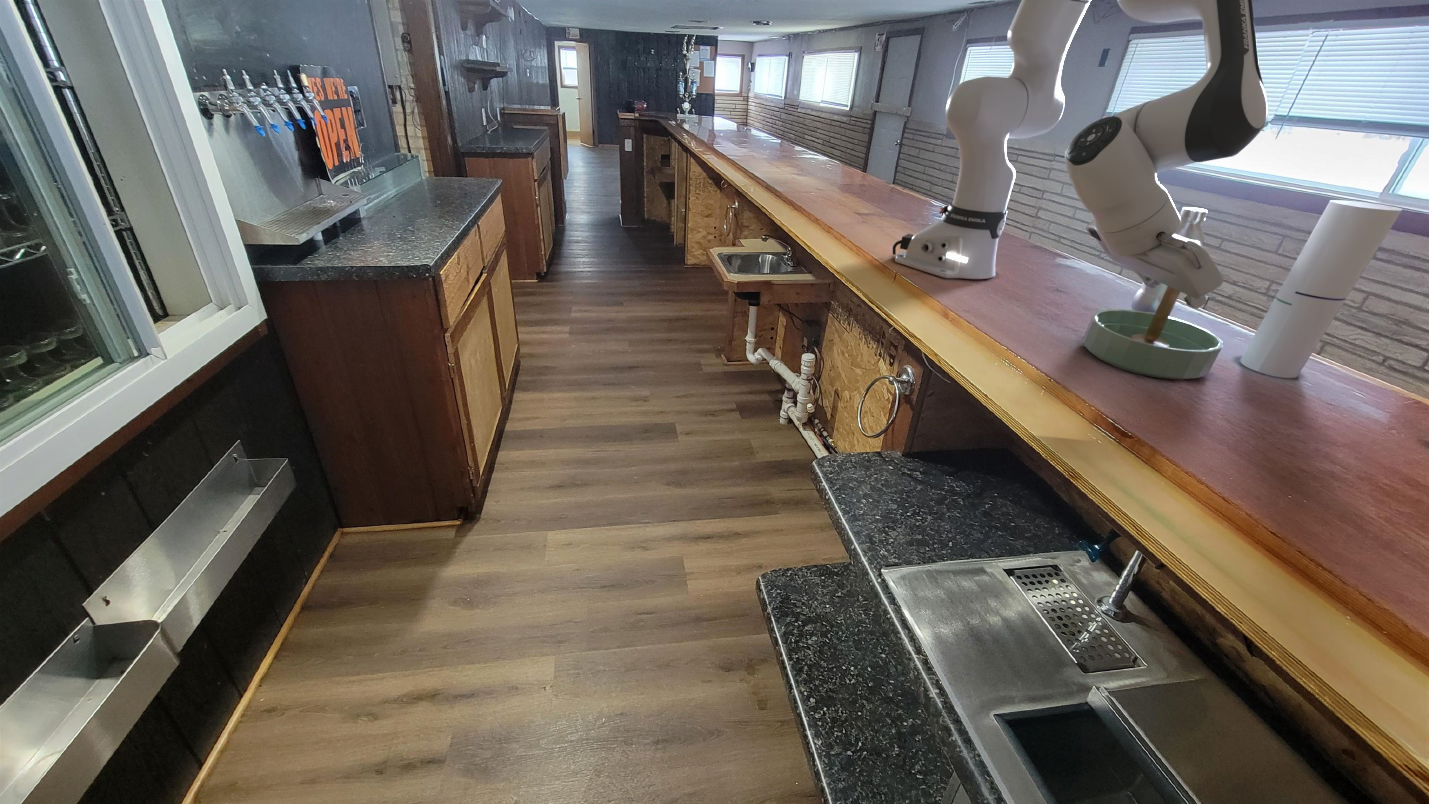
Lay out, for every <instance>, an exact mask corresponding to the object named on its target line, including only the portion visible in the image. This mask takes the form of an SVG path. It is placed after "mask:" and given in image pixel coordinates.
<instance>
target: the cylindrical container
mask: <svg viewBox="0 0 1429 804" xmlns="http://www.w3.org/2000/svg"><path fill="white" fill-rule="evenodd" d="M1402 212H1403V208H1400V207H1397V206H1393V205H1387V204H1382V203H1381V204H1380V203H1375V202H1374V203H1373V202H1366V201H1356V200H1345V199H1330V200H1329V202H1328V203H1327V205H1326V207H1325V209H1324V210H1323V212H1322V214H1321V216H1320V218H1319V219H1318V221H1317V223H1316V225H1315V227H1314V228H1313V230H1312V232H1311V233H1310V236H1309V237H1308V239H1307V240H1306V243H1305V244H1304V246H1303V248H1302V249H1301V251H1300V253H1299V255H1298V256H1297V259H1296V260H1295V262H1294V263H1293V265H1292V267H1291V269H1290V270H1289V272H1288V274H1287V276H1286V278H1285V280H1284V282H1283V283H1282V285H1281V287H1280V288H1279V290H1278V292H1277V293H1276V296H1275V298H1274V299H1273V301H1272V303H1271V304H1270V306H1269V308H1268V310H1267V311H1266V313H1265V315H1264V317H1263V318H1262V321H1261V322H1260V324H1259V326H1258V327H1257V329H1256V331H1255V333H1254V335H1253V337H1252V338H1251V340H1250V341H1249V344H1248V345H1247V348H1246V349H1245V350H1244V353H1243V354H1242V356H1241V358H1240V359H1239V363H1240V364H1241V365H1243V366H1244V367H1245V368H1248V369H1249V370H1252V371H1255V372H1258V373H1261V374H1264V375H1268V376H1271V377H1275V378H1276V377H1277V378H1284V379H1294V378H1297V377H1298V376H1299V375H1300V373H1301V372H1302V370H1303V369H1304V367H1305V366H1306V364H1307V362H1308V360H1310V357H1311V356H1312V354H1313V352H1314V351H1315V350H1316V348H1317V347H1318V345H1319V343H1320V341H1321V340H1322V338H1323V337H1324V335H1325V333H1326V332H1327V331H1328V329H1329V327H1330V325H1332V322H1333V321H1334V320H1335V318H1336V316H1337V314H1338V313H1339V311H1340V310H1341V308H1342V307H1343V305H1344V304H1345V302H1346V301H1347V298H1348V297H1349V296H1350V294H1351V292H1352V291H1353V289H1354V288H1355V286H1356V284H1357V283H1358V281H1359V279H1360V278H1361V276H1362V275H1363V273H1364V272H1365V270H1366V269H1367V267H1368V265H1369V264H1370V263H1371V261H1372V259H1373V258H1374V256H1375V254H1376V252H1377V251H1378V249H1379V248H1380V246H1381V245H1382V243H1383V241H1384V240H1385V238H1386V237H1387V235H1388V233H1389V232H1390V231H1391V229H1392V227H1393V226H1394V224H1395V223H1396V221H1397V219H1398V218H1399V216H1400V215H1401V213H1402Z"/></svg>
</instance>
